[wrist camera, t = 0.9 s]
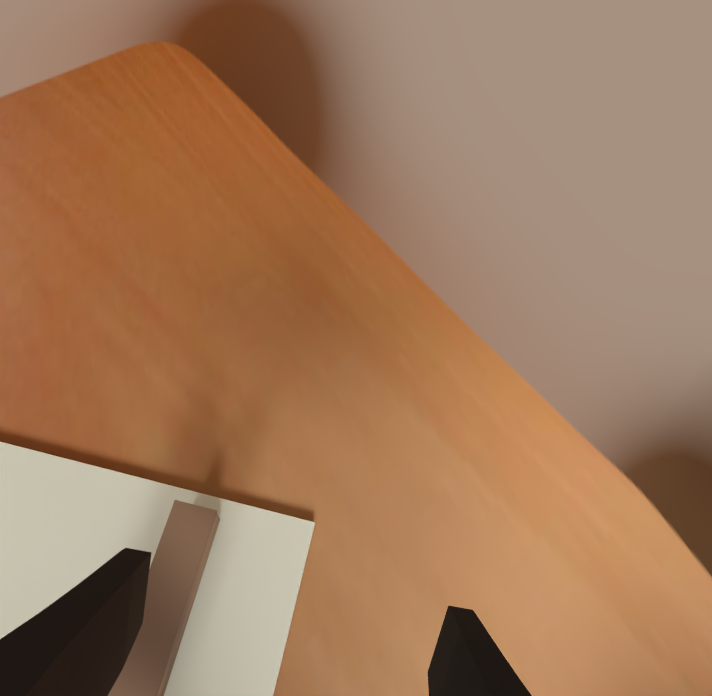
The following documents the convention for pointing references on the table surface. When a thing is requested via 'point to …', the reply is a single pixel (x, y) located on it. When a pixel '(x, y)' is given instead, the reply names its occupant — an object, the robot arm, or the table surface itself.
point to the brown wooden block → (168, 599)
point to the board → (143, 532)
